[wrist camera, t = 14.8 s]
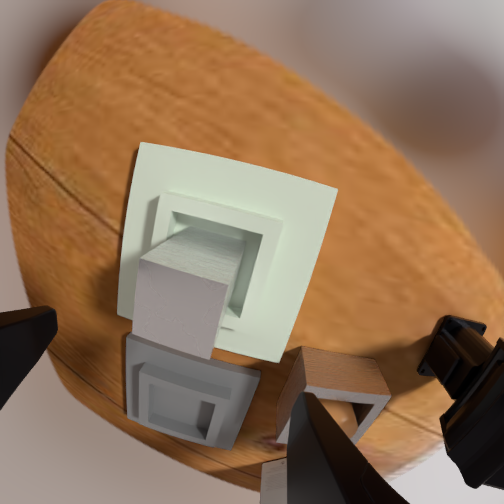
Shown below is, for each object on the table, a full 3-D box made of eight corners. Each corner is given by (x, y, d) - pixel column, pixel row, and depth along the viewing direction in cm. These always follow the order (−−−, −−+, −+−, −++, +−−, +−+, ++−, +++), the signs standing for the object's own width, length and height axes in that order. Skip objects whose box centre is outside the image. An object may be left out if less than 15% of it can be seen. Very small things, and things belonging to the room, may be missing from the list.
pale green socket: (334, 188, 19) (343, 190, 16) (278, 356, 23) (279, 374, 20) (146, 143, 19) (131, 139, 16) (122, 309, 23) (108, 322, 20)
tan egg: (353, 378, 22) (366, 419, 17) (336, 406, 23) (344, 446, 18) (315, 372, 22) (322, 415, 17) (300, 401, 23) (303, 443, 18)
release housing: (374, 359, 22) (391, 395, 17) (342, 412, 24) (351, 449, 19) (301, 345, 22) (307, 385, 17) (276, 402, 24) (275, 442, 19)
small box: (261, 461, 27) (255, 533, 17) (305, 451, 26) (309, 526, 16) (287, 485, 29) (286, 546, 18) (325, 476, 28) (331, 539, 17)
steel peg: (246, 241, 19) (228, 284, 12) (232, 293, 20) (209, 360, 13) (190, 225, 19) (139, 258, 12) (179, 278, 20) (132, 333, 13)
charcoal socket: (260, 370, 23) (259, 389, 21) (231, 444, 26) (229, 460, 24) (130, 331, 23) (118, 346, 21) (130, 412, 26) (122, 426, 24)
